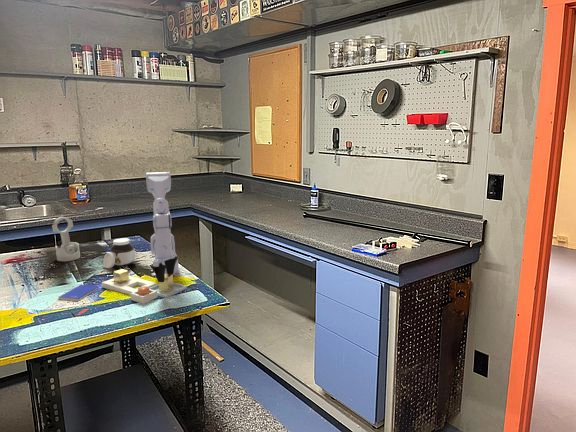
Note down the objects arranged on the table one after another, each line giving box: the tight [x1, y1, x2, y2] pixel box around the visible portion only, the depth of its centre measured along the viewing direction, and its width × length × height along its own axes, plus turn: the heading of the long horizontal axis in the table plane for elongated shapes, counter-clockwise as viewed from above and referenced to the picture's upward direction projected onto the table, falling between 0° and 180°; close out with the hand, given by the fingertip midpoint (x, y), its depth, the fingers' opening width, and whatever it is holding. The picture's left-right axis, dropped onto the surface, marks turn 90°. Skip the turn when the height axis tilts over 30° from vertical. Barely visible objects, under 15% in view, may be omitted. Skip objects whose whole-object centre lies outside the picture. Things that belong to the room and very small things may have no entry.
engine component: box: [51, 216, 81, 262], centre depth 205 cm, size 11×20×10 cm
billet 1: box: [112, 268, 130, 284], centre depth 174 cm, size 4×4×6 cm
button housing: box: [130, 289, 158, 305], centre depth 160 cm, size 7×7×3 cm
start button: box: [137, 286, 150, 296], centre depth 160 cm, size 4×4×3 cm
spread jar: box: [102, 237, 136, 269], centre depth 196 cm, size 12×11×12 cm
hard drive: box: [58, 284, 100, 302], centre depth 166 cm, size 2×8×12 cm
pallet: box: [101, 275, 158, 296], centre depth 172 cm, size 11×19×2 cm, turn 59°
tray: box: [149, 281, 188, 299], centre depth 168 cm, size 11×11×2 cm
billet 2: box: [158, 274, 174, 293], centre depth 167 cm, size 4×4×6 cm
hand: (165, 278), depth 167 cm, fingers open, 7 cm apart
